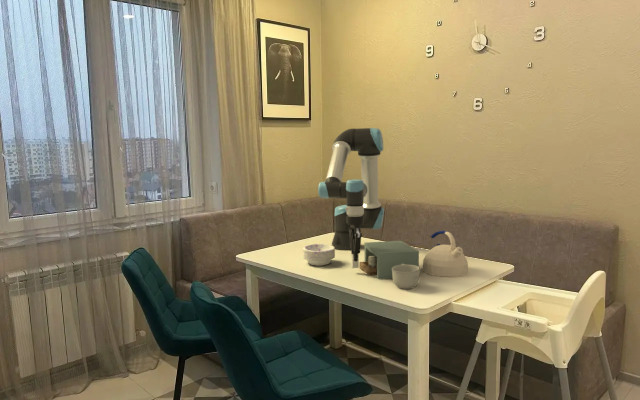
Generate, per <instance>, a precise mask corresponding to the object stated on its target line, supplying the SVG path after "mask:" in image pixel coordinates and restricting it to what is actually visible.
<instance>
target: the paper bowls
mask: <svg viewBox="0 0 640 400" xmlns="http://www.w3.org/2000/svg"><path fill="white" fill-rule="evenodd" d="M302 249H303V250H302V251H303V252H302V254H303V255H302V257H303V259H304V260H306V261H307V263H308V264H309V265H311V266H318V267H319V266H325V265H329V264H330V263H331V261H332V260H333V259H334V258H336V249H335V247H334V246H332V244H327V243H326V244H325V243H313V244H308V245H305V246H303V247H302Z"/></svg>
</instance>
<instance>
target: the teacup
mask: <svg viewBox="0 0 640 400" xmlns="http://www.w3.org/2000/svg"><path fill="white" fill-rule="evenodd" d="M392 276H393V278H392V281H393V284H394V285H395V286H397V288H398V289H401V290H409V289H410V290H411V289H414V288H416V286H417V285H418V284H419V283H420V282H419V281H420V266H419V267H418V266H415V265H406V264H401V265H397V266H394V267H392Z"/></svg>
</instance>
